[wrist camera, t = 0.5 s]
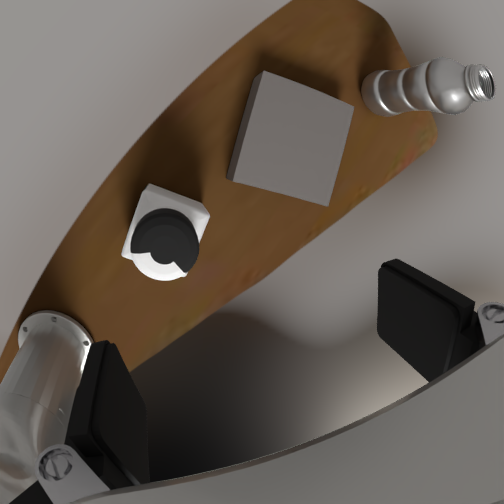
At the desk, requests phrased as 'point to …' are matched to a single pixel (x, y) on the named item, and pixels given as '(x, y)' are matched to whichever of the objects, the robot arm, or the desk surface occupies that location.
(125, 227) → the desk surface
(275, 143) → the base block
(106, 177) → the desk surface
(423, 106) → the plastic bottle
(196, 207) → the medicine bottle
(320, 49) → the desk surface
